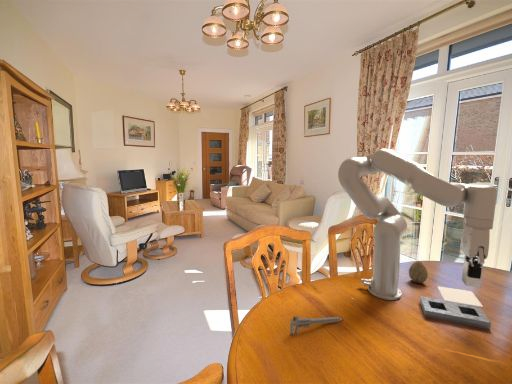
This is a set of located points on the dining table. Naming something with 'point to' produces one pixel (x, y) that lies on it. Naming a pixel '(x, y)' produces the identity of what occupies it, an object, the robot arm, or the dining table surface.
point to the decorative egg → (418, 272)
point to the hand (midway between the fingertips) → (471, 274)
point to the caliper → (309, 322)
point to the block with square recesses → (454, 312)
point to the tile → (459, 296)
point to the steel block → (467, 280)
